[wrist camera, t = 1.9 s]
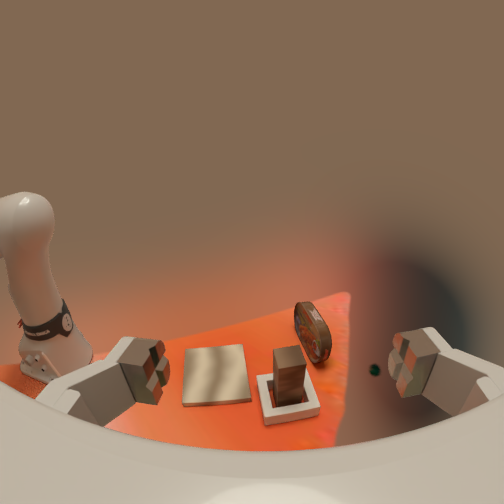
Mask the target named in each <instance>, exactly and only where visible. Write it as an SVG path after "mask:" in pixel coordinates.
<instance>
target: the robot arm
mask: <svg viewBox="0 0 504 504" xmlns="http://www.w3.org/2000/svg"><path fill="white" fill-rule="evenodd" d="M54 227H55V218H54V212H53V209H52V207H51V205H50V203H49V202H48V201H47V200H46V199H45V198H44V197H42V196H40V195H37V194H34V193H29V192H19V193H16V194H13V195H9V196H6V197H3V198H0V259H1V258H2V257H4V260H5V264H6V269H7V274H8V280H9V284H8V290H9V293H10V295H11V297H12V300H13V302H14V304H15V306H16V308H17V310H18V312H19V314H20V316H21V320H20V321H19V322H18V324H19V323H20V322H21V323H20V325H19V328H20V327H21V326H22V324H23V329H24V334H23V337H22V339H21V342H20V344H19V353H20V356H21V357H22V361H21V365H20V370H21V372H22V373H23V374H25V375H27V376H30V377H32V378H34V379H36V380H38V381H41V382H43V383H45V384H48V385H47V386H46V387H45V388H44V389H43V390H42V392H41V393H40V394H39V395H38V396H37V397H36V399H35V400H34V399H32V398H30V397H28V396H26V395H25V394H23V393H21V392H19V391H17V390H15V389H13V388H12V387H10V386H8V385H6V384H5V383H3V382H1V381H0V504H504V368H503V367H500V366H498V365H495V364H492V363H490V362H488V361H485V360H483V359H480V358H478V357H475V356H472V355H470V354H468V353H465V352H462V351H460V350H458V349H452V348H451V347H450V346H449V345H448V344H447V342H446V341H445V340H444V339H443V338H442V337H441V335H440V334H439V333H438V332H437V331H436V330H435V329H434V328H432V327H427V328H423V329H419V330H414V331H408V332H402V333H396V335H395V336H394V339H393V345H394V347H395V348H394V349H393V350H392V352H391V353H390V356H389V360H388V368H389V372H390V375H391V377H392V378H394V379H395V380H397V384H396V387H397V389H398V391H399V393H400V395H401V397H402V398H404V397H409V396H413V395H418V394H422V395H424V396H425V397H426V398H428V399H429V400H431V401H432V402H433V403H435V404H436V405H438V406H439V407H440V408H442V409H443V410H444V411H446V412H447V413H449V414H450V415H452V416H453V417H452V418H449V419H446V420H444V421H441V422H438V423H435V424H432V425H430V426H426V427H423V428H420V429H417V430H413V431H410V432H406V433H403V434H399V435H395V436H391V437H387V438H382V439H378V440H373V441H368V442H363V443H357V444H351V445H345V446H338V447H330V448H321V449H310V450H296V451H233V450H219V449H208V448H199V447H191V446H184V445H178V444H172V443H166V442H161V441H156V440H151V439H146V438H142V437H138V436H134V435H130V434H126V433H122V432H119V431H115V430H112V429H108V428H105V427H104V426H105V425H106V424H108V423H109V422H111V421H112V420H113V419H115V418H116V417H118V416H119V415H120V414H122V413H123V412H124V411H126V410H127V409H129V408H130V407H131V406H133V405H134V404H135V403H136V402H139V403H145V404H152V405H158V402H159V400H160V398H161V396H162V394H163V391H162V387H163V386H165V385H166V384H167V383H168V380H169V376H170V365H169V361H168V359H167V358H166V357H165V356H164V355H163V354H164V352H165V347H164V343H163V342H162V341H161V340H153V339H143V338H135V337H123V338H121V340H120V341H119V342H118V343H117V344H116V346H115V347H114V348H113V349H112V351H111V352H110V353H109V354H108V356H107V357H106V358H105V359H104V360H99V361H96V362H94V363H92V364H89V363H90V361H91V358H92V354H93V351H92V347H91V345H90V344H89V343H88V342H87V341H86V339H85V338H84V337H83V335H82V333H81V332H80V331H79V330H78V329H77V327H76V325H75V324H74V322H73V320H72V318H71V315H70V312H69V310H68V308H67V305H66V303H65V301H64V300H63V299H62V298H61V296H60V294H59V291H58V289H57V286H56V283H55V281H54V278H53V275H52V271H51V267H50V261H49V242H50V240H51V238H52V235H53V233H54ZM88 364H89V365H88Z"/></svg>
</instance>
